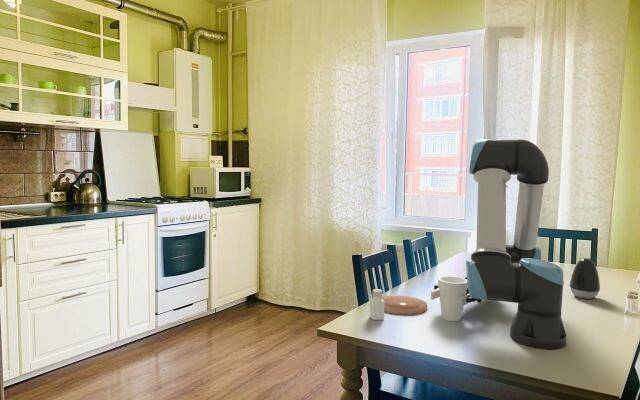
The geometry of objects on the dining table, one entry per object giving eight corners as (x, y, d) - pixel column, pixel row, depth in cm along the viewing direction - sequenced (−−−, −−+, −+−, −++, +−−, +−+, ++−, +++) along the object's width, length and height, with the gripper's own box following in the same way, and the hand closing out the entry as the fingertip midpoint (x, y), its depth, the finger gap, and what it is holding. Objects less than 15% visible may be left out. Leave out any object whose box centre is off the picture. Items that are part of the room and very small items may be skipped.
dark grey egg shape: (602, 296, 181) (604, 258, 179) (595, 302, 173) (598, 262, 172) (573, 291, 188) (575, 254, 186) (565, 296, 180) (568, 258, 179)
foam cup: (467, 323, 150) (469, 284, 148) (437, 321, 151) (439, 282, 150) (464, 314, 159) (466, 277, 158) (436, 312, 161) (437, 275, 159)
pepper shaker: (373, 321, 151) (374, 292, 150) (368, 316, 155) (369, 289, 154) (384, 320, 152) (385, 291, 151) (380, 315, 156) (380, 288, 155)
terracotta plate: (432, 315, 157) (432, 311, 157) (378, 314, 158) (378, 310, 158) (421, 299, 175) (421, 295, 175) (373, 298, 176) (373, 294, 175)
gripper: (505, 301, 161) (478, 318, 144) (445, 289, 175) (415, 302, 159) (506, 280, 160) (479, 294, 143) (446, 269, 175) (416, 281, 158)
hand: (446, 298), depth 151 cm, fingers closed on foam cup, 9 cm apart
